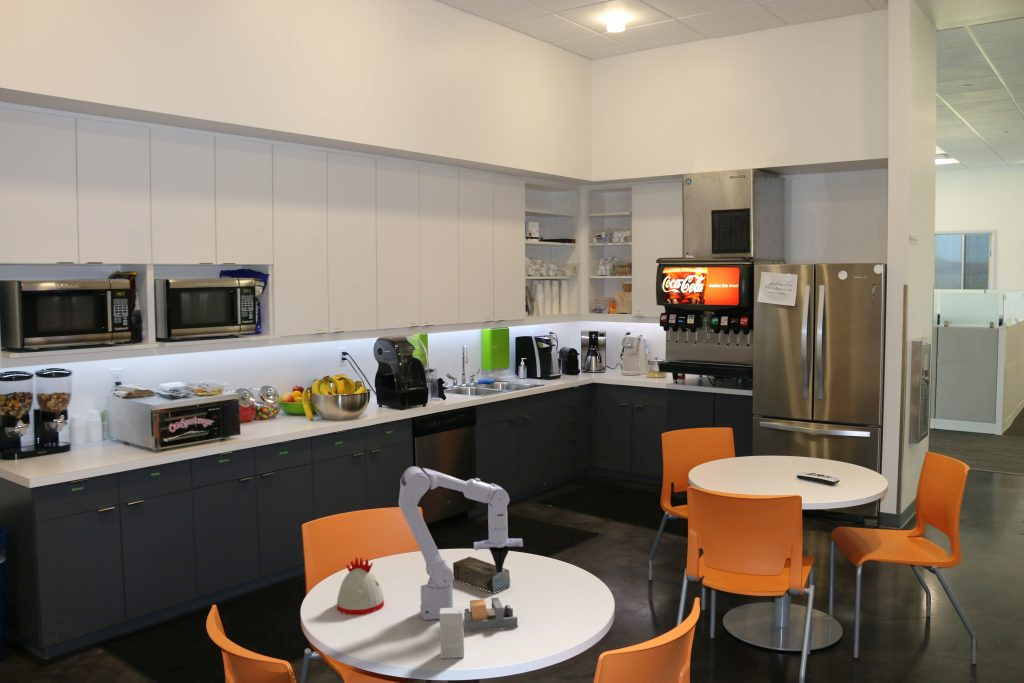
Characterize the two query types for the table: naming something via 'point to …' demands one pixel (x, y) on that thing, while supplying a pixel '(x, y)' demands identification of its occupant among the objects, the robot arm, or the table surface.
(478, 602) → the block
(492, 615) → the shaft
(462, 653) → the skincare box
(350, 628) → the table surface
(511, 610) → the housing
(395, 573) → the table surface
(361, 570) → the chicken head dome
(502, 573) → the beverage carton
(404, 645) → the table surface
